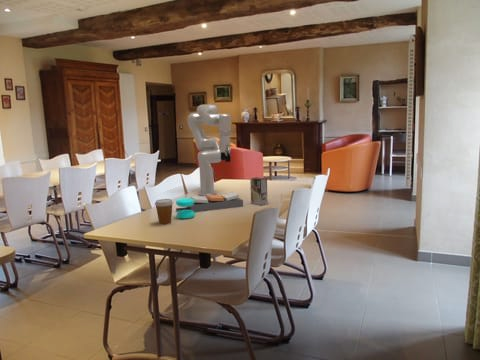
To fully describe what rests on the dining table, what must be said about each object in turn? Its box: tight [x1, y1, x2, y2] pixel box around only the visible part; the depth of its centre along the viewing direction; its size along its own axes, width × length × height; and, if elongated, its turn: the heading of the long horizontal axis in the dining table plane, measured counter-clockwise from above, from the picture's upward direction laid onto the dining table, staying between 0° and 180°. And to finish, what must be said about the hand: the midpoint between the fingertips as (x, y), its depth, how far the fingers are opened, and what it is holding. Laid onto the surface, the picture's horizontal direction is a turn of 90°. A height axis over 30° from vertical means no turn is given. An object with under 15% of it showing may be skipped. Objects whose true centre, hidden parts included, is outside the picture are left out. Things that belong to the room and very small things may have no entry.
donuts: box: [175, 197, 196, 220], centre depth 223 cm, size 10×10×10 cm
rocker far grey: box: [220, 191, 240, 201], centre depth 248 cm, size 10×8×2 cm
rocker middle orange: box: [205, 194, 224, 201], centre depth 244 cm, size 10×8×2 cm
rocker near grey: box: [190, 195, 208, 203], centre depth 241 cm, size 10×8×2 cm
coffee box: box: [250, 176, 268, 206], centre depth 250 cm, size 9×6×16 cm
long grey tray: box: [175, 197, 244, 213], centre depth 243 cm, size 13×40×5 cm, turn 112°
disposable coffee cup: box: [154, 198, 174, 225], centre depth 211 cm, size 10×10×12 cm
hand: (225, 160), depth 256 cm, fingers open, 9 cm apart
